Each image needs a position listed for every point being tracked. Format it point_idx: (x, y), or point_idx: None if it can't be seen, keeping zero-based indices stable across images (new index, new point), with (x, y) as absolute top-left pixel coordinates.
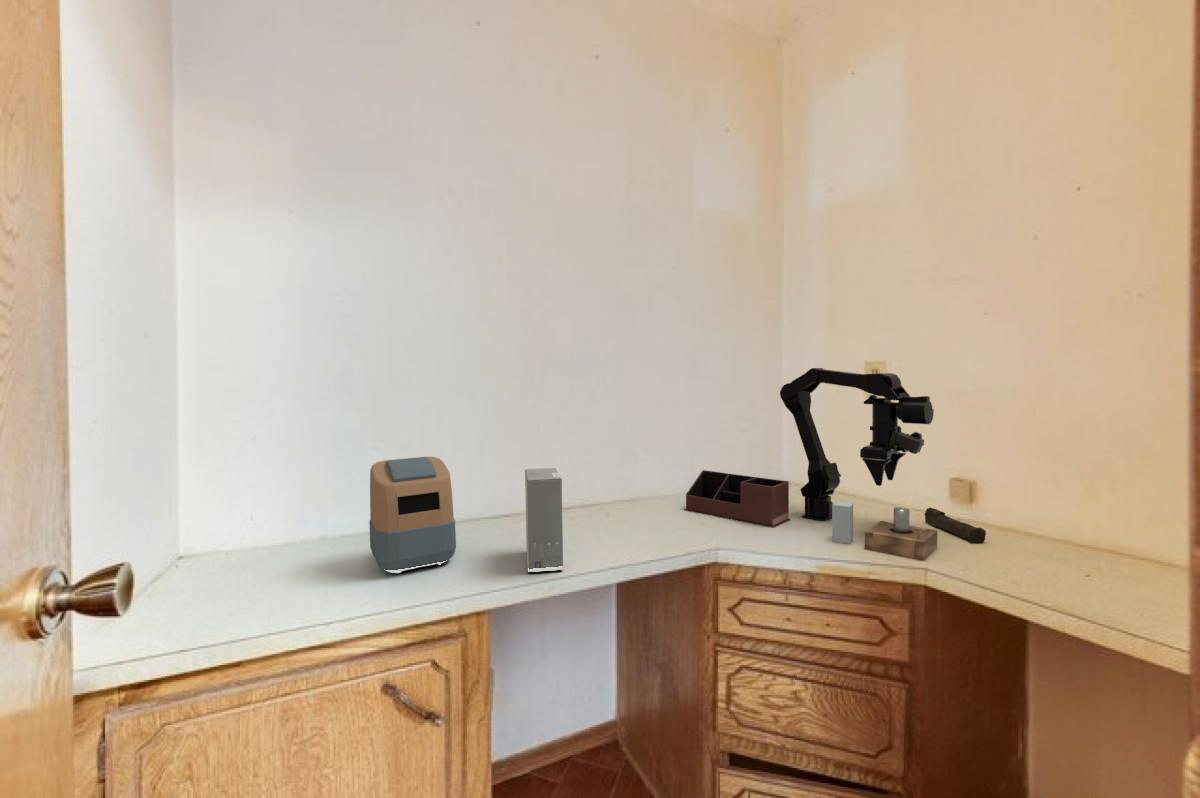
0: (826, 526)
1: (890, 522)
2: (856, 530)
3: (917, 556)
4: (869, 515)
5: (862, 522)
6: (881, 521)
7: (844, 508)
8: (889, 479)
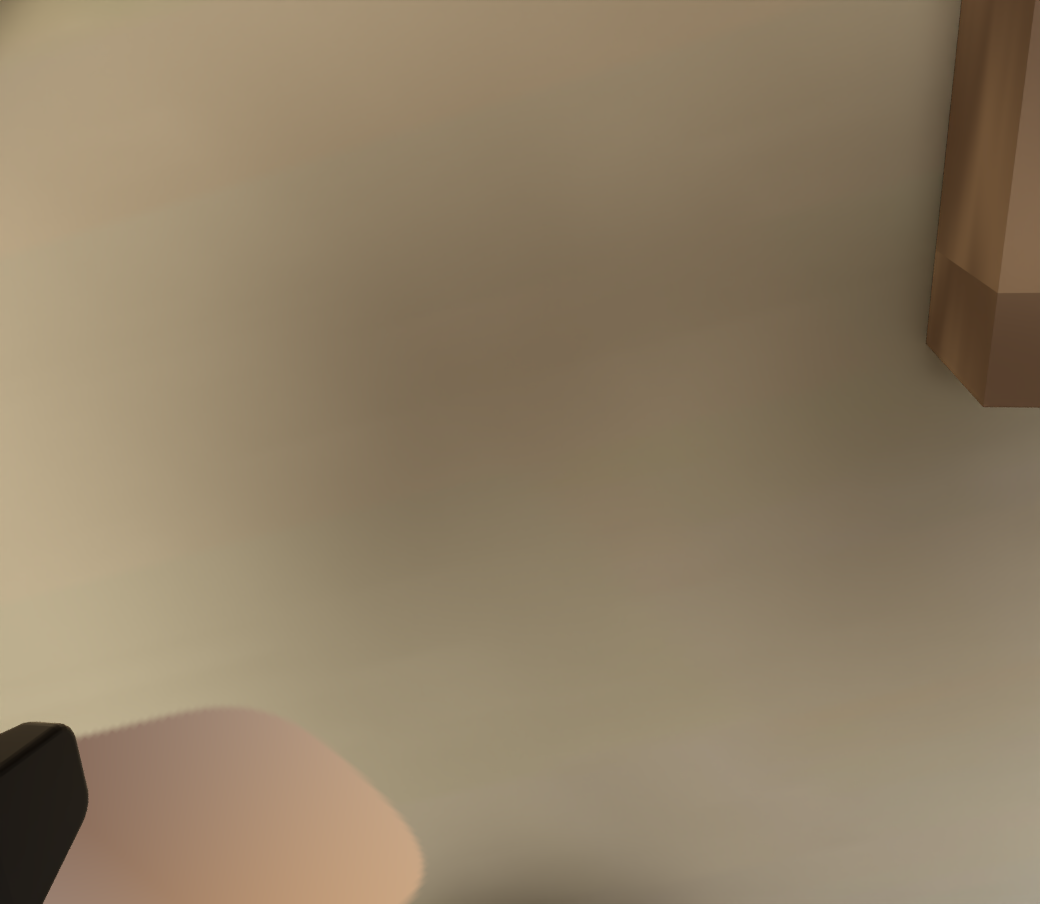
0: (849, 889)
1: (1008, 271)
2: (810, 628)
3: None
4: (97, 679)
5: (428, 663)
6: (1024, 393)
7: None
8: (76, 781)
